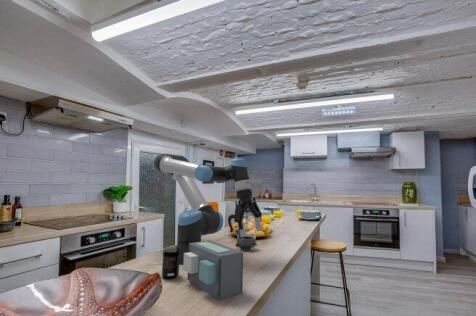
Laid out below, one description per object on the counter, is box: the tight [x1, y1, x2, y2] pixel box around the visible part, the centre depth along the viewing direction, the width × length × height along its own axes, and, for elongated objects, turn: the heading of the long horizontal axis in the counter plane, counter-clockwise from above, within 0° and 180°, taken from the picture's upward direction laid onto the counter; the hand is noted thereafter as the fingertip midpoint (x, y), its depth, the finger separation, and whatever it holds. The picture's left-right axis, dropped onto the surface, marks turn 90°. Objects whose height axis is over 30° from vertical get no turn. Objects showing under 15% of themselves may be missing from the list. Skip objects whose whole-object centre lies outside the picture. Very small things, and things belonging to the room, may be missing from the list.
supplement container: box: [161, 247, 180, 280], centre depth 109 cm, size 7×7×10 cm
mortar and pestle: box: [234, 227, 255, 253], centre depth 154 cm, size 11×9×12 cm
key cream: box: [182, 252, 199, 274], centre depth 103 cm, size 6×6×6 cm
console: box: [186, 239, 244, 301], centre depth 101 cm, size 10×22×14 cm, turn 37°
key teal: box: [199, 260, 217, 284], centre depth 93 cm, size 6×6×6 cm
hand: (251, 233), depth 129 cm, fingers open, 13 cm apart
